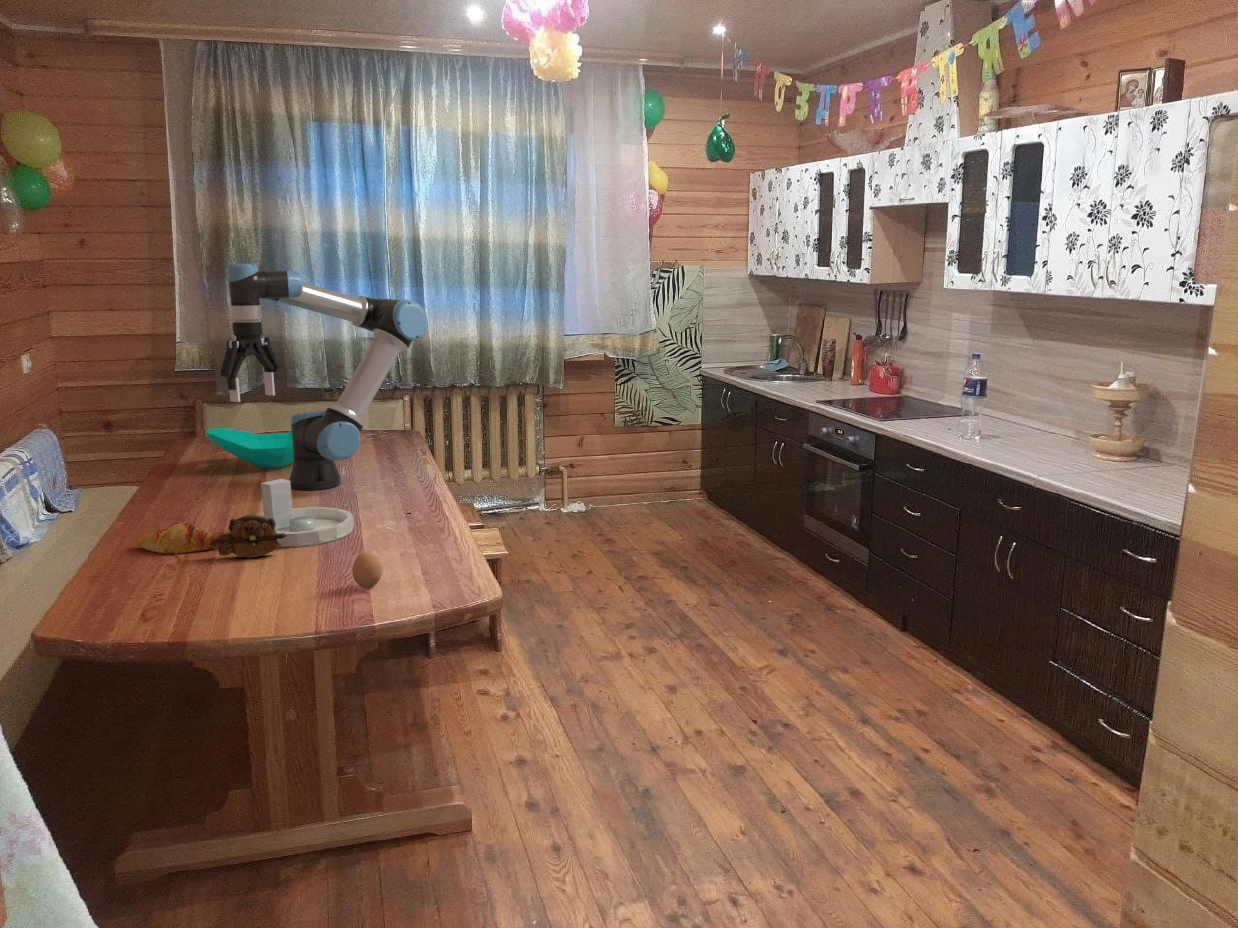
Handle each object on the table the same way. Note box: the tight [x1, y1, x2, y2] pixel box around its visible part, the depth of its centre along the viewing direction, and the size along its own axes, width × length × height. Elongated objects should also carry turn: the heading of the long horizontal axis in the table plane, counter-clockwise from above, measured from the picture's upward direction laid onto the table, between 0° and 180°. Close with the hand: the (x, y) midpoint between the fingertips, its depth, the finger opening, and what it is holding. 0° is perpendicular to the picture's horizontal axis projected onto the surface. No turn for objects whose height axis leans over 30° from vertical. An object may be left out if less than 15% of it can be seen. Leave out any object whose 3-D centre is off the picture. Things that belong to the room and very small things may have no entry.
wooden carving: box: [212, 513, 287, 559], centre depth 218 cm, size 16×5×10 cm, turn 105°
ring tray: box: [261, 506, 355, 549], centre depth 238 cm, size 25×25×4 cm
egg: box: [351, 551, 382, 589], centre depth 198 cm, size 6×6×8 cm
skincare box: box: [260, 478, 294, 530], centre depth 239 cm, size 6×4×12 cm
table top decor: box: [205, 427, 294, 469], centre depth 314 cm, size 40×28×13 cm
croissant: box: [136, 521, 219, 555], centre depth 224 cm, size 21×10×8 cm, turn 89°
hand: (253, 398), depth 259 cm, fingers open, 13 cm apart
